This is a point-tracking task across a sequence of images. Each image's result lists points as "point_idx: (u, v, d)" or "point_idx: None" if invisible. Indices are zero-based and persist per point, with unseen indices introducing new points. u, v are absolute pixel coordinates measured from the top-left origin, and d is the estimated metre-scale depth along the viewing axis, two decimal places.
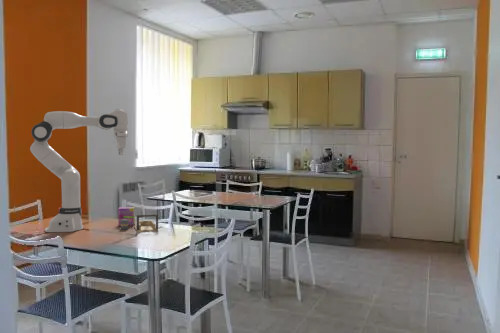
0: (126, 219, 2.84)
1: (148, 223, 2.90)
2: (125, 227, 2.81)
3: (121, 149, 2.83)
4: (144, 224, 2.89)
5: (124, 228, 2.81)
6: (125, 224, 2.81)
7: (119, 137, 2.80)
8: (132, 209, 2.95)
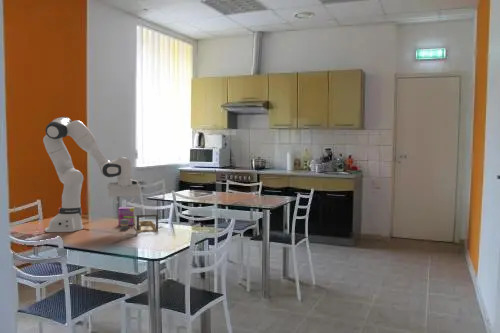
0: (126, 219, 2.84)
1: (148, 223, 2.90)
2: (125, 227, 2.81)
3: (134, 197, 2.84)
4: (144, 224, 2.89)
5: (124, 228, 2.81)
6: (125, 224, 2.81)
7: (138, 185, 2.83)
8: (132, 209, 2.95)
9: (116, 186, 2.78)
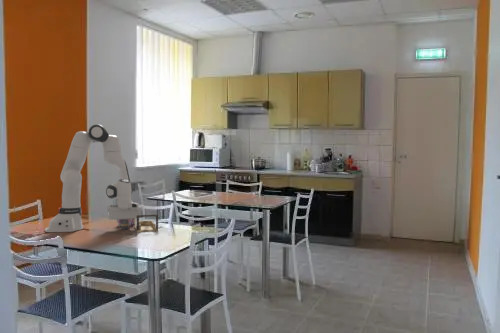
0: (126, 219, 2.84)
1: (148, 223, 2.90)
2: (125, 227, 2.81)
3: None
4: (144, 224, 2.89)
5: (124, 228, 2.81)
6: (125, 224, 2.81)
7: None
8: None
9: (116, 209, 2.79)
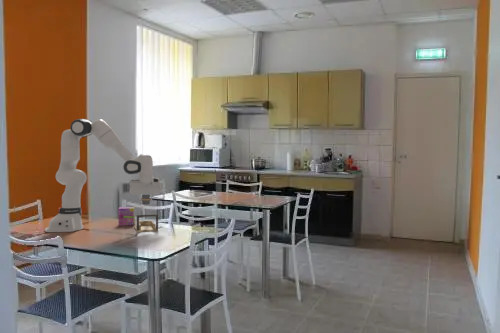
0: (147, 194, 2.84)
1: (148, 223, 2.90)
2: (147, 202, 2.80)
3: None
4: (144, 224, 2.89)
5: (146, 203, 2.80)
6: (147, 199, 2.80)
7: None
8: (132, 209, 2.95)
9: (138, 183, 2.78)
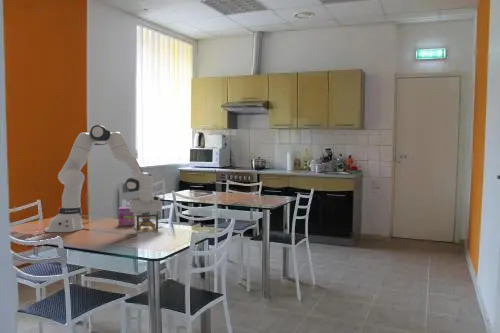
0: (148, 212, 2.85)
1: (148, 223, 2.90)
2: (147, 220, 2.81)
3: None
4: (144, 224, 2.89)
5: (146, 221, 2.81)
6: (147, 217, 2.81)
7: None
8: None
9: (138, 202, 2.79)
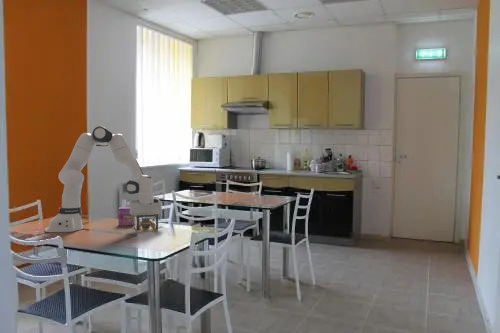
0: None
1: None
2: (146, 225, 2.81)
3: None
4: None
5: (146, 226, 2.81)
6: (146, 222, 2.81)
7: (159, 203, 2.84)
8: None
9: (138, 204, 2.79)
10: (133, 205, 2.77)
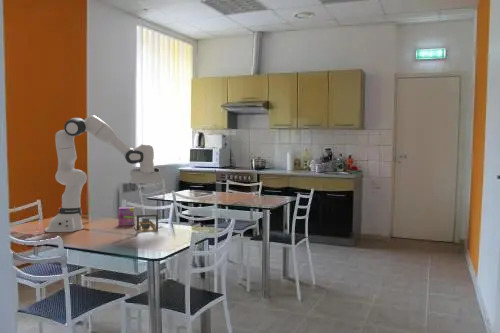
0: None
1: None
2: (146, 225, 2.81)
3: (156, 184, 2.88)
4: None
5: (145, 226, 2.81)
6: (146, 222, 2.81)
7: None
8: (132, 209, 2.95)
9: (139, 173, 2.82)
10: (134, 173, 2.81)
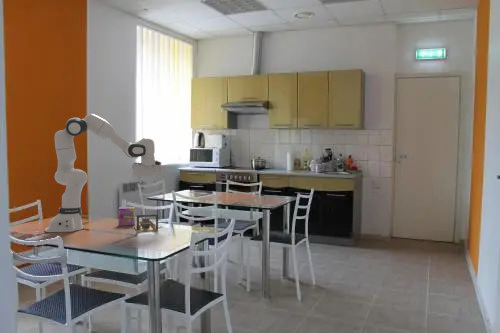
0: None
1: None
2: (146, 225, 2.81)
3: None
4: None
5: (145, 226, 2.81)
6: (146, 222, 2.81)
7: None
8: (132, 209, 2.95)
9: (140, 166, 2.90)
10: (136, 167, 2.88)
